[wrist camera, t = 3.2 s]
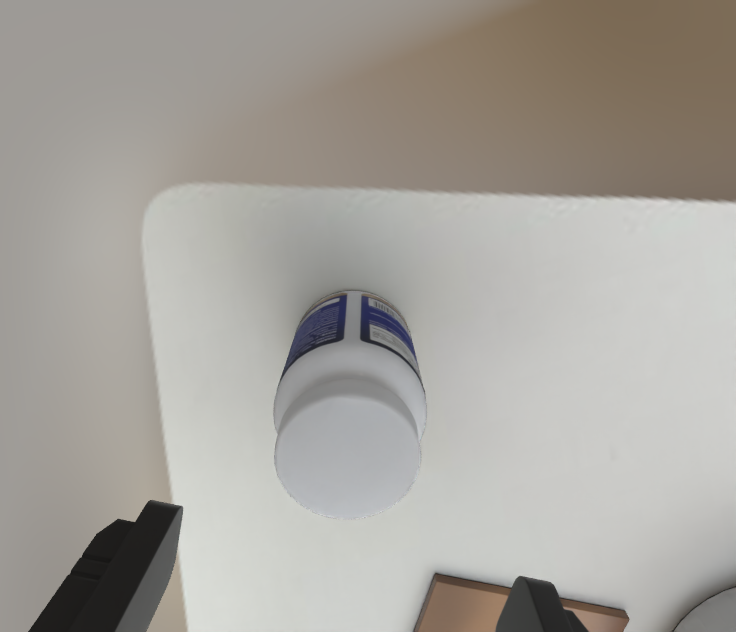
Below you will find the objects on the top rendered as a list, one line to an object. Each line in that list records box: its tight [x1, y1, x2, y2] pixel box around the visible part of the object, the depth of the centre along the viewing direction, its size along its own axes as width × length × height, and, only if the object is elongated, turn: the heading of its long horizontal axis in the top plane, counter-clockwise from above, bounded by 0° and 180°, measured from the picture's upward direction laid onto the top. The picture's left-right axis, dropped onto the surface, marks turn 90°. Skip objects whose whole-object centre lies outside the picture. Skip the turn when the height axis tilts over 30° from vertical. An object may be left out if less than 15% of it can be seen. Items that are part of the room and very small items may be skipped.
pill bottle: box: [274, 291, 427, 519], centre depth 21 cm, size 6×6×10 cm
